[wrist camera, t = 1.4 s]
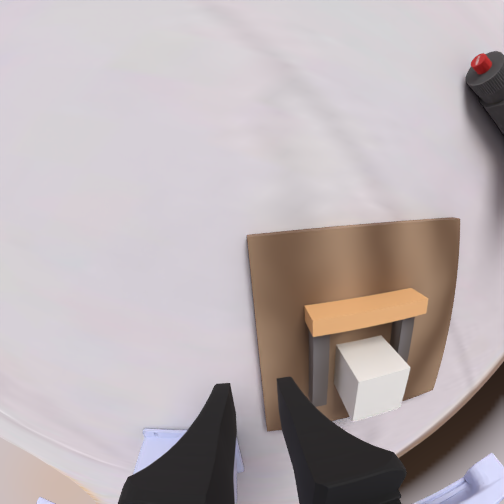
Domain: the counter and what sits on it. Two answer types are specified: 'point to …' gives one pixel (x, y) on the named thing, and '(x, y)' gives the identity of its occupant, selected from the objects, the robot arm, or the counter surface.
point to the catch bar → (364, 311)
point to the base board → (347, 287)
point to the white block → (369, 377)
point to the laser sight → (489, 84)
